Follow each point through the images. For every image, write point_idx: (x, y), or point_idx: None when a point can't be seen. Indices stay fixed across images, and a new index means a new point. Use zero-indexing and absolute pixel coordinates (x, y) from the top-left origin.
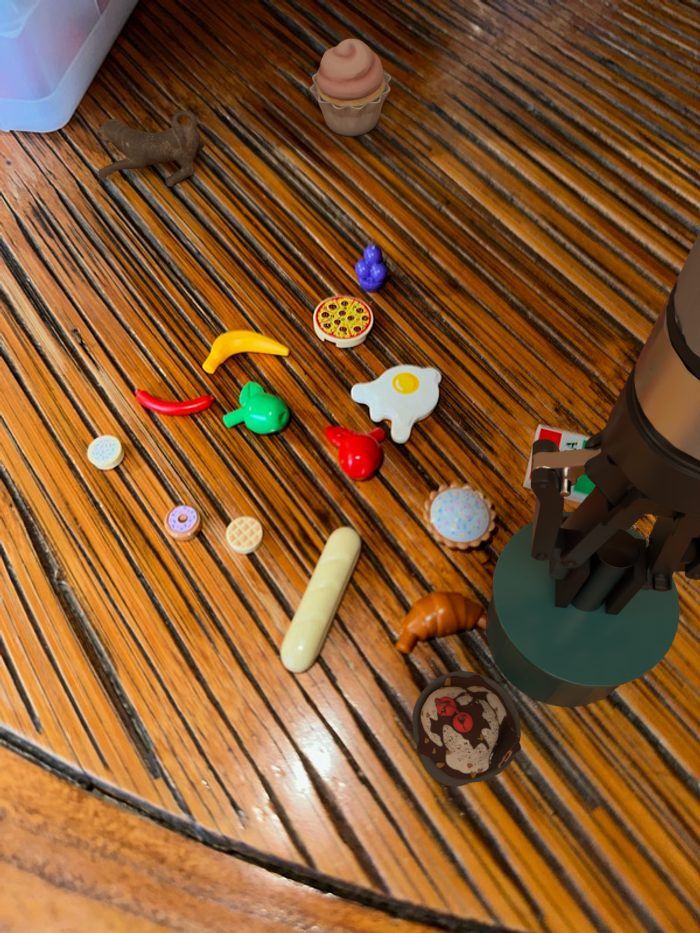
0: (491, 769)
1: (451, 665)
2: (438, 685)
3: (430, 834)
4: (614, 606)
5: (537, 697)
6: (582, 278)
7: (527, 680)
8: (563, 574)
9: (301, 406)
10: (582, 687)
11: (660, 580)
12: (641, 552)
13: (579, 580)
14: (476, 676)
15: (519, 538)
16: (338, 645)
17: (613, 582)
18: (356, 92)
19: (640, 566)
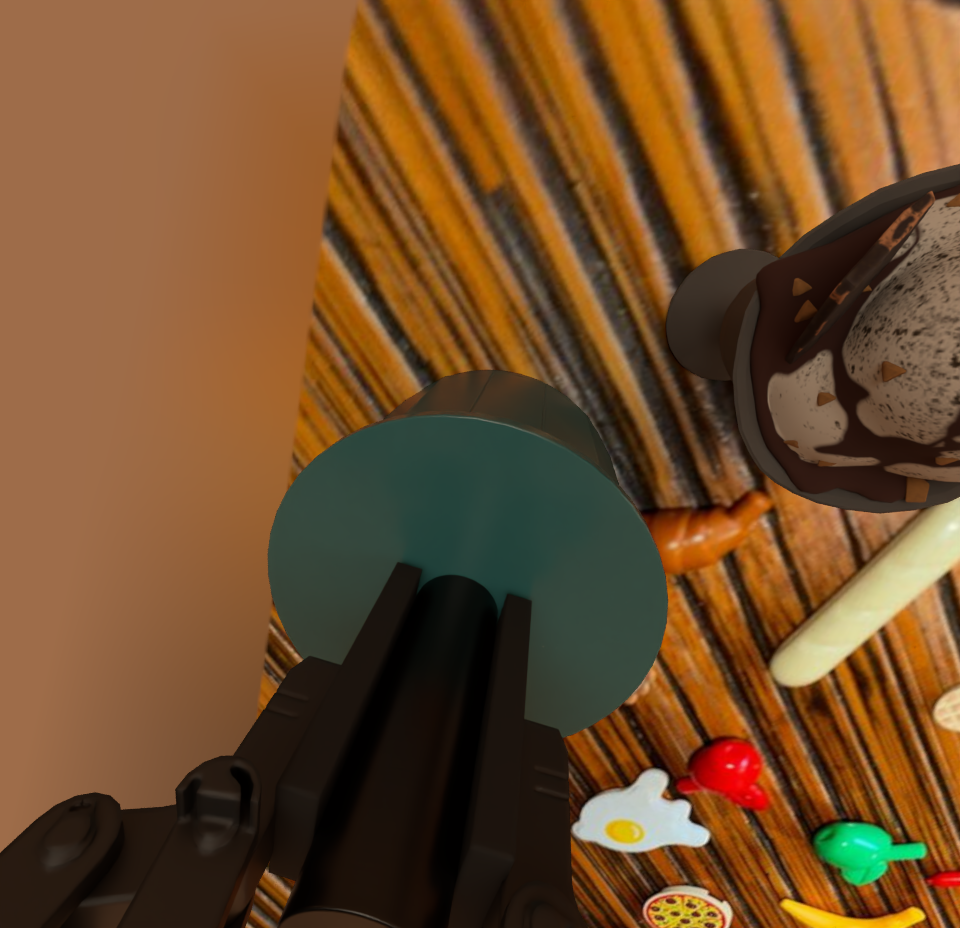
0: (892, 208)
1: (683, 461)
2: (939, 481)
3: (834, 155)
4: (401, 601)
5: (555, 393)
6: None
7: (583, 429)
8: (530, 758)
9: (791, 841)
10: (496, 410)
11: (219, 812)
12: (286, 848)
13: (497, 772)
14: (812, 490)
15: (566, 725)
16: (877, 520)
17: (393, 752)
18: None
19: (293, 824)
